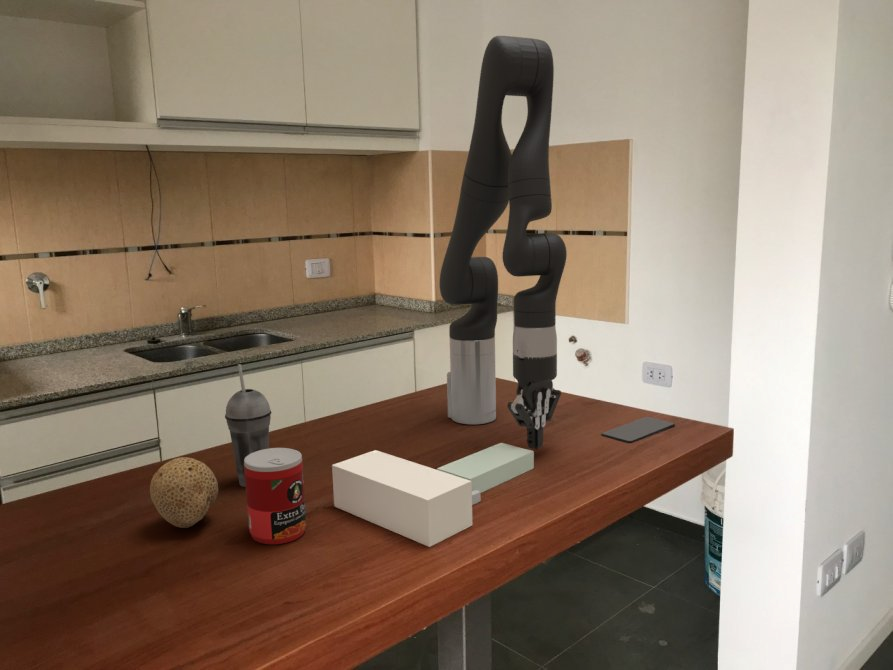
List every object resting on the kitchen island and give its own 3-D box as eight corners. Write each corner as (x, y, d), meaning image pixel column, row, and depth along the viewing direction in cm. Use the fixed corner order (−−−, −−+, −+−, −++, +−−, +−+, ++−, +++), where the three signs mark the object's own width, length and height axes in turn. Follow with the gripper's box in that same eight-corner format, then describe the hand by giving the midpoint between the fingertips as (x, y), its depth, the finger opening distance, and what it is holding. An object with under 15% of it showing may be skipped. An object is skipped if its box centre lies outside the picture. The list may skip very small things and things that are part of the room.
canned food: (279, 550, 95) (273, 471, 93) (236, 537, 100) (230, 460, 98) (318, 528, 102) (314, 453, 100) (277, 516, 106) (272, 444, 104)
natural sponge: (184, 508, 109) (178, 445, 108) (234, 515, 106) (228, 450, 105) (140, 534, 101) (133, 466, 99) (193, 543, 98) (186, 472, 96)
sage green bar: (437, 486, 115) (437, 468, 115) (501, 459, 127) (501, 442, 126) (470, 497, 111) (470, 479, 110) (533, 468, 122) (533, 451, 122)
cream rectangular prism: (334, 506, 109) (331, 465, 108) (409, 476, 120) (407, 438, 119) (429, 547, 95) (428, 500, 94) (504, 509, 106) (503, 466, 105)
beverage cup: (285, 477, 121) (277, 359, 117) (256, 493, 114) (247, 369, 111) (250, 471, 124) (241, 356, 120) (220, 486, 117) (210, 366, 114)
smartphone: (599, 433, 138) (646, 416, 148) (599, 437, 138) (646, 420, 148) (630, 441, 133) (676, 423, 142) (630, 446, 133) (676, 427, 143)
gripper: (539, 342, 132) (539, 434, 135) (493, 354, 122) (494, 453, 126) (574, 347, 127) (574, 442, 130) (529, 360, 117) (529, 462, 121)
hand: (535, 447), depth 128 cm, fingers closed
